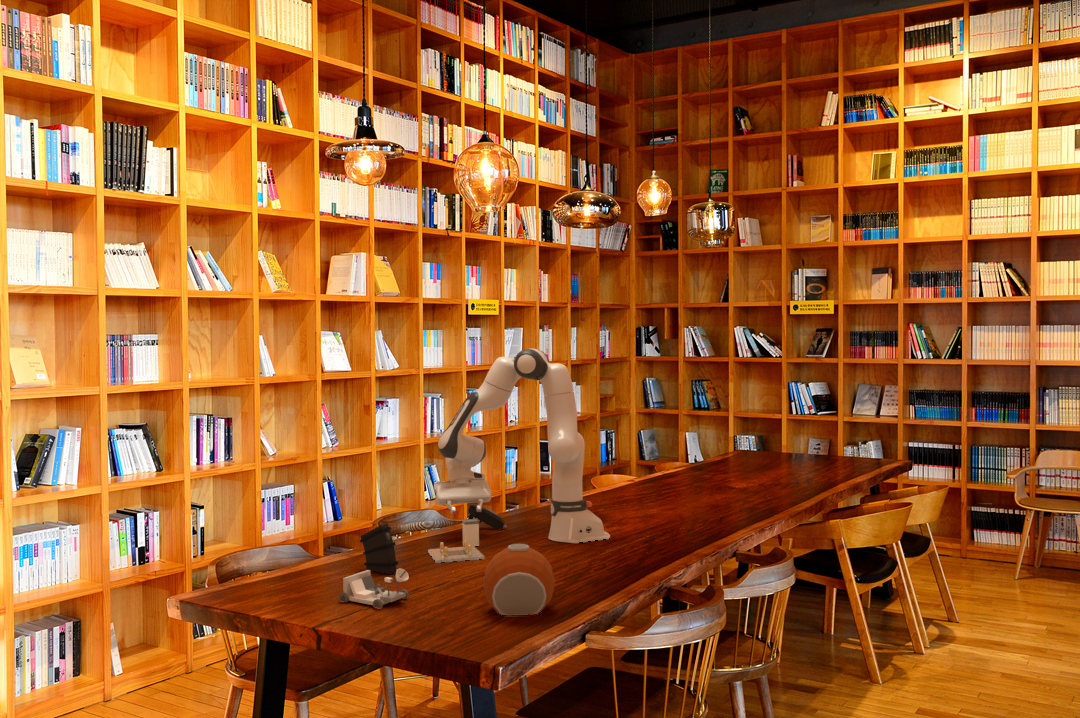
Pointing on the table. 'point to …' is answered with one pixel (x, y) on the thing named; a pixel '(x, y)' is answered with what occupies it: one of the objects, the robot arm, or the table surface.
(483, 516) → the gun
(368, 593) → the toy lunar rover
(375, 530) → the black ribbed panel
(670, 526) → the table surface
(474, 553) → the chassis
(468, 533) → the block
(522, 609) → the alarm clock
